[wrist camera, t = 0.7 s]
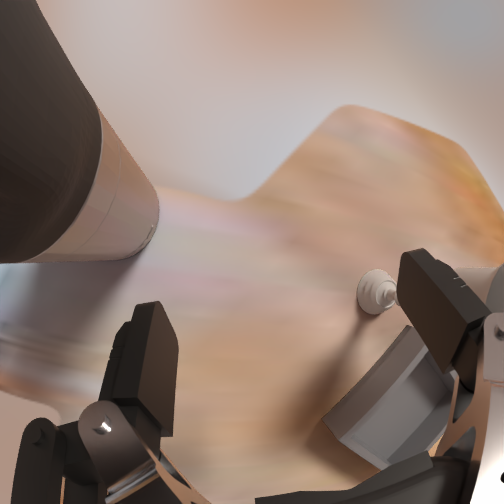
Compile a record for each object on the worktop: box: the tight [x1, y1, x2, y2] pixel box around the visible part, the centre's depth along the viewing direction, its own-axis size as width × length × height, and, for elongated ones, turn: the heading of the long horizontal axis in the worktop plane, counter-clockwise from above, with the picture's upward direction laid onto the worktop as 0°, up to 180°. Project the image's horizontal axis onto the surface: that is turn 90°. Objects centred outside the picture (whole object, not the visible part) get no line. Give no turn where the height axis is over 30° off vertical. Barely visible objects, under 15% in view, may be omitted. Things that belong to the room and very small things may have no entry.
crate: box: [322, 325, 458, 470], centre depth 29 cm, size 15×15×5 cm
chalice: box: [357, 263, 504, 315], centre depth 22 cm, size 7×7×18 cm
